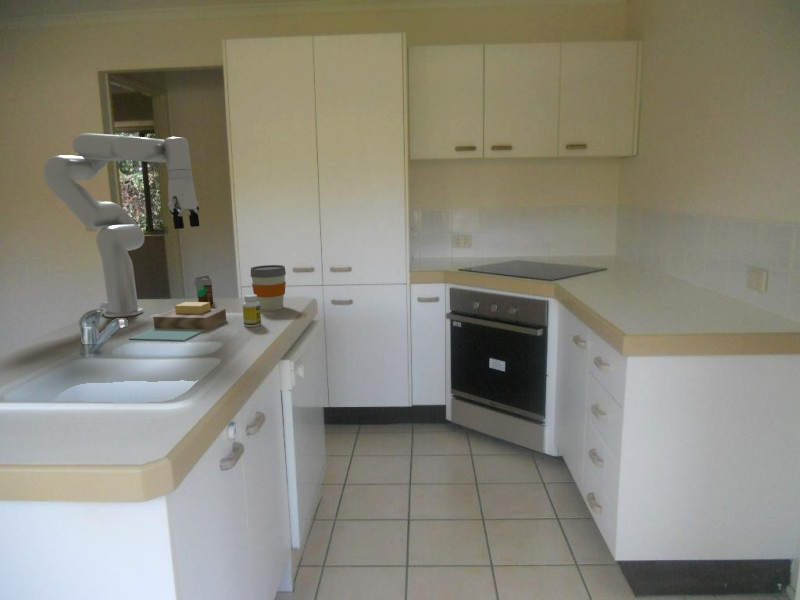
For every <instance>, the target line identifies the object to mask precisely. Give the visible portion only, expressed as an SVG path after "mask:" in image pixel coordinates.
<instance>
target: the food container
mask: <svg viewBox="0 0 800 600" xmlns="http://www.w3.org/2000/svg"><path fill="white" fill-rule="evenodd" d="M212 283H213V282H212V278H210V275H200V276H197V277H194V279H193V285H195V289H196V296H197V302H210V306H213V305H214V297H213V296H214V293H213V284H212ZM212 304H213V305H212Z"/></svg>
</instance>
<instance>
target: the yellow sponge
mask: <svg viewBox="0 0 800 600" xmlns="http://www.w3.org/2000/svg"><path fill="white" fill-rule="evenodd" d="M174 309H175V311H176V313H191V314H202V313H204V312H206V311H209V310H211V309H212V308H211V305H210V302H198V301H184V302H181V303H179V304H176V305H175V306H174Z"/></svg>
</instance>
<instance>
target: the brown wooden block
mask: <svg viewBox="0 0 800 600" xmlns="http://www.w3.org/2000/svg"><path fill="white" fill-rule="evenodd" d="M152 319H153V328H163V329H205V330H206V331H209V330H210V329H212V328H214V327H217V326H218V325H220V324H222V323H224V322H226V321H227V313H226V308H211V310H209V311H206V312H204V313H202V314H191V313H176V311H175V308H172V309H170V310H166V311H165V312H161V313H160V314H157V315H154V316H153V317H152Z"/></svg>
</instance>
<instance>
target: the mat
mask: <svg viewBox="0 0 800 600" xmlns="http://www.w3.org/2000/svg"><path fill="white" fill-rule="evenodd" d="M206 331H207V330H205V329H163V328H154V327H153V328H151V329H148V330H146V331H143V332H141V333H138V334H136V335H134V336H133V335H132V336H131V337H129V338H128V340H129V339H143V340H142V341H166V342H186V341H188V340H190V339H192V338H194V337H196V336H198V335H200V334H202V333H204V332H206ZM187 339H188V340H187ZM185 340H186V341H185Z"/></svg>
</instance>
